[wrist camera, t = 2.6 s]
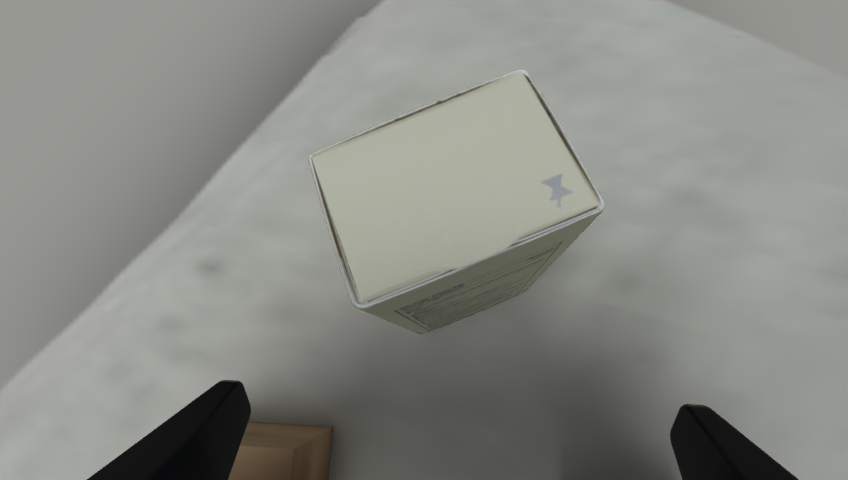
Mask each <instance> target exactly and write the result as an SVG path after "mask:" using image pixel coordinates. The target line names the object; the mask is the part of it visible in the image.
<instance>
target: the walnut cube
mask: <svg viewBox="0 0 848 480" xmlns="http://www.w3.org/2000/svg"><path fill="white" fill-rule="evenodd" d="M332 433H333V427H323V426H305V425H288V424H270V423H253V422H248V424H247V427H246V430H245V433H244V435H243V438H242V441H241V444H240V447H239V450H238V453H237V456H236V459H235V461H234V464H233V467H232V470H231V473H230V476H229V479H228V480H328V474H329V464H330V453H331V443H332Z"/></svg>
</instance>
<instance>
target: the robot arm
mask: <svg viewBox="0 0 848 480" xmlns="http://www.w3.org/2000/svg"><path fill="white" fill-rule="evenodd" d="M250 413H251V406H250V403H249V400H248V397H247V394H246V391H245V388H244V386H243V384H242V383H241V382H240V381H234V380H223V381H220V382H218V383H217V384H215V385H214V386H213V387H211V388H210V389H209V390H207V391H206V392H205V393H203V394H202V395H200V396H199V397H198V398H196V399H195V400H194V401H192V402H191V403H190V404H188V405H187V406H186V407H184V408H183V409H182V410H180V411H179V412H178V413H176V414H175V415H174V416H172V417H171V418H169V419H168V420H167V421H165V422H164V423H163V424H161V425H160V426H159V427H157V428H156V429H155V430H153V431H152V432H151V433H149V434H148V435H147V436H145V437H144V438H143V439H141V440H140V441H138V442H137V443H136V444H134V445H133V446H132V447H130V448H129V449H128V450H126V451H125V452H124V453H122V454H121V455H120V456H118V457H117V458H116V459H114V460H113V461H112V462H110V463H109V464H107V465H106V466H105V467H103V468H102V469H101V470H99V471H98V472H97V473H95V474H94V475H93V476H91V477H90V478H89V479H87V480H228V479H229V476H230V473H231V470H232V467H233V464H234V461H235V459H236V456H237V453H238V450H239V447H240V444H241V441H242V438H243V435H244V433H245V430H246V427H247V424H248V421H249V418H250ZM670 439H671V444H672V447H673V450H674V453H675V457H676V460H677V463H678V466H679V470H680V473H681V476H682V479H683V480H798V479H797V478H796V477H795V476H793V475H792V474H791V473H790V472H789V471H787V470H786V469H785V468H784V467H782V466H781V465H780V464H779V463H777V462H776V461H775V460H774V459H772V458H771V457H770V456H769V455H768V454H766V453H765V452H764V451H763V450H761V449H760V448H759V447H758V446H756V445H755V444H754V443H753V442H751V441H750V440H749V439H748V438H747V437H745V436H744V435H743V434H742V433H740V432H739V431H738V430H737V429H735V428H734V427H733V426H732V425H730V424H729V423H728V422H727V421H726V420H724V419H723V418H722V417H721V416H719V415H718V414H717V413H716V412H714V411H713V410H712V409H710V408H709V407H707V406H704V405H693V404H684V405H683V406H681V407H680V409H679V412H678V414H677V417H676V419H675V421H674V424H673V426H672V429H671V433H670Z"/></svg>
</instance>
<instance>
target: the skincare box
mask: <svg viewBox="0 0 848 480" xmlns="http://www.w3.org/2000/svg"><path fill="white" fill-rule="evenodd" d="M308 161H309V165H310V168H311V172H312V175H313V178H314V182H315V186H316V189H317V193H318V196H319V200H320V204H321V207H322V211H323V214H324V218H325V222H326V224H327V228H328V231H329V234H330V238H331V241H332V244H333V247H334V251H335V255H336V258H337V261H338V264H339V267H340V270H341V273H342V276H343V279H344V282H345V285H346V288H347V292H348V295H349V297H350V300H351V303H352V304H353V306H355V307H356V308H358V309H360V310H363V311H365V312H368V313H370V314H372V315H375V316H378V317H380V318H382V319H385V320H387V321H389V322H392V323H394V324H397V325H399V326H401V327H404V328H406V329H409V330H411V331H414V332H416V333H419V334H423V333H426V332H429V331H431V330H434V329H437V328H439V327H442V326H445V325H447V324H450V323H452V322H455V321H457V320H460V319H462V318H465V317H467V316H469V315H472V314H474V313H477V312H479V311H481V310H484V309H486V308H488V307H491V306H493V305H495V304H498V303H500V302H502V301H505V300H507V299H509V298H511V297H513V296H516V295H518V294H520V293H522V292H524V291H526V290H527V289H528V288H529V287H530V286H531V285H532V284H533V283H534V282H535V281H536V279H537V278H538V277H539V276H540V275H541V274H542V273H543V272H544V271H545V270H546V269H547V268H548V267H549V266H550V265H551V264H552V263H553V262H554V261H555V260H556V259H557V258H558V257H559V256H560V255H561V254H562V253H563V252H564V251H565V250H566V249H567V248H568V246H569V245H570V244H571V243H572V242H573V241H574V240H575V239H576V238H577V237H578V236H579V235H580V234H581V233H582V232H583V231H584V230H585V229H586V228H587V227H588V226H589V225H590V224H591V223H592V222H593V220H594V219H595V218H596V217H597V216H598V215H599V214H600V213H602V211H603V210H604V208H605V203H604V201H603V199H602V198H601V196H600V194H599V192H598V191H597V189H596V187H595V186H594V184H593V182H592V180H591V178H590V176H589V174H588V172H587V170H586V169H585V167H584V166H583V164H582V162H581V160H580V158H579V157H578V155H577V153H576V151H575V149H574V147H573V146H572V144H571V142H570V141H569V139H568V137H567V135H566V134H565V132H564V130H563V128H562V126H561V125H560V123H559V121H558V120H557V118H556V116H555V115H554V113H553V111H552V110H551V108H550V106H549V104H548V103H547V101H546V100H545V98H544V96H543V95H542V93H541V92H540V91H539V90H538V88H537V87H536V85H535V83H534V81H533V80H532V78H531V77H530V75H529V74H528V72H527V71H526V70H517V71H514V72H511V73H509V74H506V75H503V76H499V77H496V78H494V79H491V80H489V81H486V82H483V83H480V84H477V85H475V86H472V87H469V88H467V89H464V90H462V91H459V92H455V93H453V94H451V95H449V96H446V97H444V98H441V99H438V100H436V101H434V102H432V103H429V104H426V105H424V106H421V107H419V108H416V109H414V110H412V111H409V112H407V113H404V114H402V115H400V116H397V117H395V118H392V119H390V120H388V121H385V122H383V123H380V124H378V125H376V126H373V127H371V128H369V129H366V130H364V131H362V132H359V133H357V134H355V135H353V136H351V137H348V138H346V139H343V140H341V141H339V142H337V143H335V144H333V145H330V146H328V147H326V148H323V149H321V150H319V151H316V152H314V153H312V154H311V155H309V158H308Z"/></svg>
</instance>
